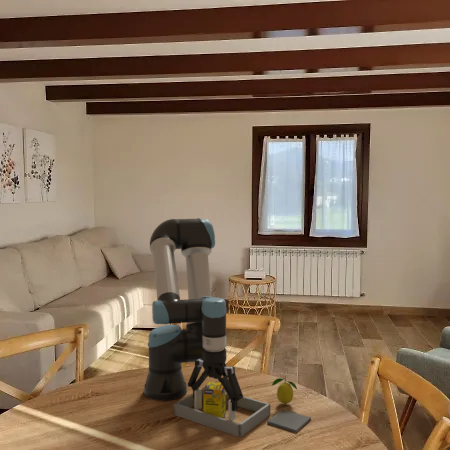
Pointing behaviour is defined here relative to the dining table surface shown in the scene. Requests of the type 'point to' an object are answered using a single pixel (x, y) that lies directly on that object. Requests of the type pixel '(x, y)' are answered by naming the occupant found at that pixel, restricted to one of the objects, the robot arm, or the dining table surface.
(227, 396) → the walnut block
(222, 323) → the robot arm
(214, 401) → the supplement box
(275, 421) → the slate coaster
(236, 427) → the grey bin
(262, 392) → the dining table surface
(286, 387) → the lemon
